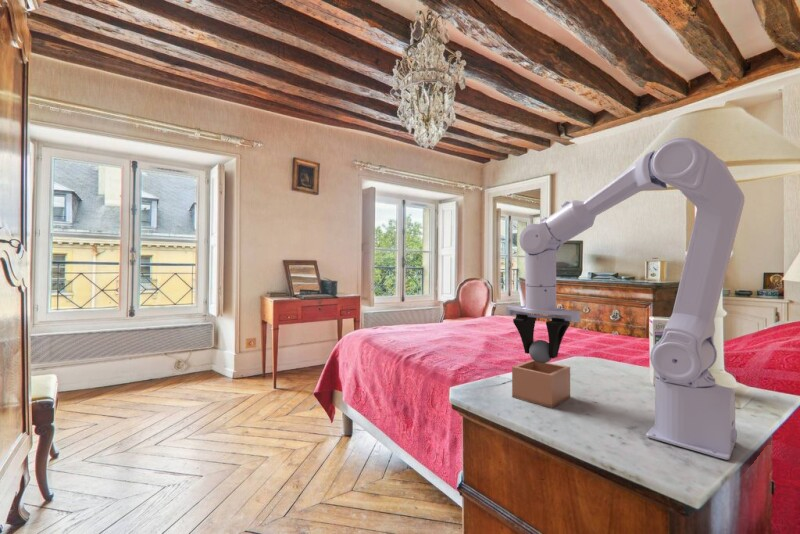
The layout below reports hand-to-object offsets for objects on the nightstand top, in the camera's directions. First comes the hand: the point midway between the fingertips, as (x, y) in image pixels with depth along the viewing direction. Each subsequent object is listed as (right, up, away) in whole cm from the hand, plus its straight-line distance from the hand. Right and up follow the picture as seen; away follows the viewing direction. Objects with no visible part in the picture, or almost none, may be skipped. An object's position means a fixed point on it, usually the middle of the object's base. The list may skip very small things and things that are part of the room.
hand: (541, 354), depth 74 cm
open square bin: (0, -8, 0) cm, 8 cm away
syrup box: (+30, -8, +7) cm, 32 cm away
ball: (0, -2, 0) cm, 2 cm away
